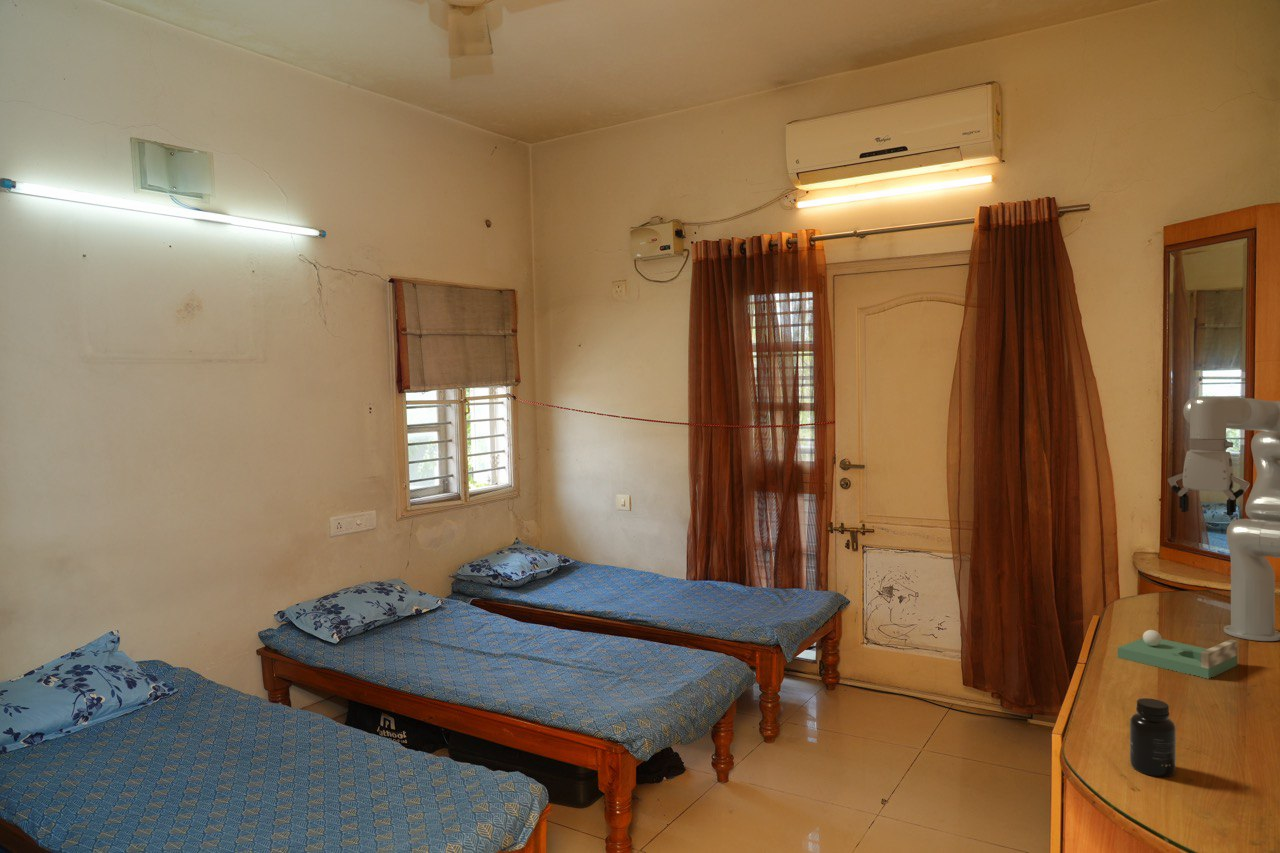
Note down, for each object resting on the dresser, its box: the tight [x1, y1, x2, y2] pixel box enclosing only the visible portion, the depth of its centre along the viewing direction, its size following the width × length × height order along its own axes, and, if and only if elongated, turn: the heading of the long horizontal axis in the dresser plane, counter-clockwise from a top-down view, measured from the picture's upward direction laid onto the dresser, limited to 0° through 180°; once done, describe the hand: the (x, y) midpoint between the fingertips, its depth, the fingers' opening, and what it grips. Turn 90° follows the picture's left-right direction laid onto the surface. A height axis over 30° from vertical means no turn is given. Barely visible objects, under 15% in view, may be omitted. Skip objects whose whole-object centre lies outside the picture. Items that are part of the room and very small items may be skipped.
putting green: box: [1117, 637, 1238, 680], centre depth 199 cm, size 16×20×2 cm
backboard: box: [1201, 639, 1238, 669], centre depth 191 cm, size 16×2×4 cm, turn 124°
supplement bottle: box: [1129, 697, 1177, 778], centre depth 142 cm, size 7×7×12 cm
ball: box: [1142, 629, 1163, 646], centre depth 203 cm, size 4×4×4 cm
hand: (1207, 513), depth 204 cm, fingers open, 9 cm apart
